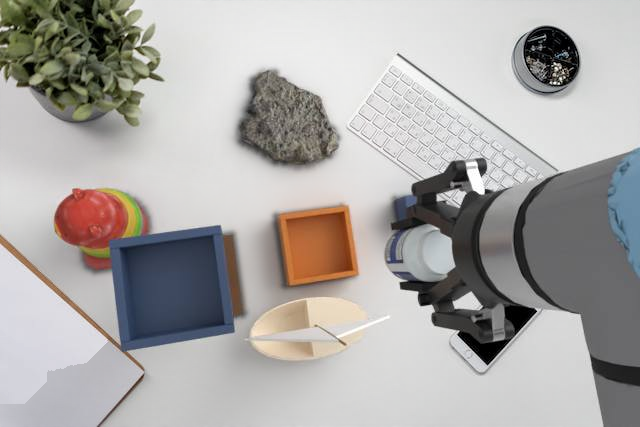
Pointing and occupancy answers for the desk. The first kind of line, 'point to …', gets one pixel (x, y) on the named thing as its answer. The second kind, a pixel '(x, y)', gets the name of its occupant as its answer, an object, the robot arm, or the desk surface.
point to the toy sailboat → (309, 328)
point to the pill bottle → (419, 254)
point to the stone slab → (288, 122)
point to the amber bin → (317, 245)
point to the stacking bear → (98, 222)
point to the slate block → (404, 206)
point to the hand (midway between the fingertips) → (407, 254)
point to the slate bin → (174, 286)
